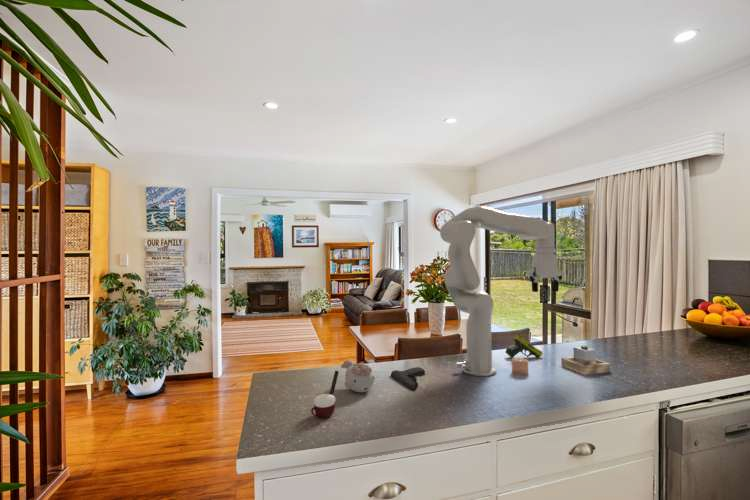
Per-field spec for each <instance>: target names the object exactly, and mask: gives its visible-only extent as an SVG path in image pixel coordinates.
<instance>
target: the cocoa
mask: <svg viewBox="0 0 750 500" xmlns="http://www.w3.org/2000/svg"><path fill="white" fill-rule="evenodd" d="M339 373H340V372H339V370H335V371H334V374H333V378H332V382H331V386H330V389H329V393H322V394H320V395H318V396H315V398H314V399H313V407H312V408H311V409H310V412H311V415H313V416H315V417H318V418H320V419H327V418H330V417H331V416H332V415H333V414H334V412H335V408H336V397H335V396H334V392H335V389H336V385H337V380H338V377H339Z"/></svg>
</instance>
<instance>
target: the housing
mask: <svg viewBox="0 0 750 500" xmlns="http://www.w3.org/2000/svg"><path fill="white" fill-rule="evenodd" d="M572 350H573V357H574V362H577V363H579V364H582V365H591V364H596V359H597V355H596V354H597V351H596V350H597V349H594V348H591V347H589V346H587V345H581V346H574V347H573V349H572Z"/></svg>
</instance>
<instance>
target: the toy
mask: <svg viewBox="0 0 750 500" xmlns="http://www.w3.org/2000/svg"><path fill="white" fill-rule="evenodd" d="M340 368H341V369H345V370H346V371H345V373H344V374H345V375H344V377H345V381H344V383H343V384H344V386H345V388H346V390H348V391H350V390H352V391H353V392H355V393H366V392H368V391H369V390H371V388H372V387H373V385H374V382H375V375H374V374H373V372H372V371H373V369H372V367H370V366H369V365H368V364H365V363H364V362H358V363H357V362H355V363H354V362H353V360H350V359H346V360H345V361H343V363H342V364H341V365H340Z"/></svg>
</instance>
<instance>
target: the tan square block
mask: <svg viewBox="0 0 750 500" xmlns="http://www.w3.org/2000/svg"><path fill="white" fill-rule="evenodd" d="M511 373H512V374H513V375H516V376H528V375H529V359H526V358H522V357H513V358H511Z"/></svg>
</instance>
